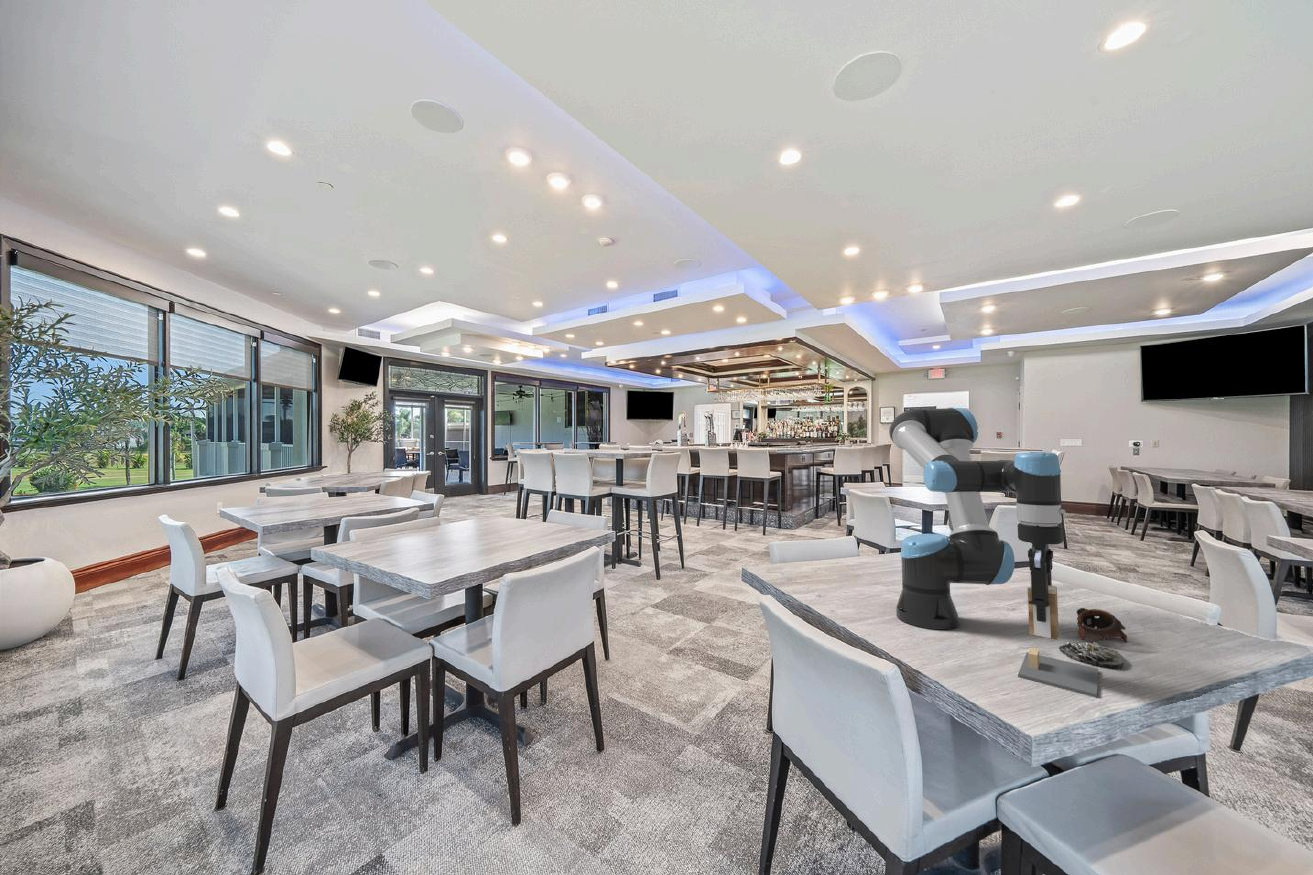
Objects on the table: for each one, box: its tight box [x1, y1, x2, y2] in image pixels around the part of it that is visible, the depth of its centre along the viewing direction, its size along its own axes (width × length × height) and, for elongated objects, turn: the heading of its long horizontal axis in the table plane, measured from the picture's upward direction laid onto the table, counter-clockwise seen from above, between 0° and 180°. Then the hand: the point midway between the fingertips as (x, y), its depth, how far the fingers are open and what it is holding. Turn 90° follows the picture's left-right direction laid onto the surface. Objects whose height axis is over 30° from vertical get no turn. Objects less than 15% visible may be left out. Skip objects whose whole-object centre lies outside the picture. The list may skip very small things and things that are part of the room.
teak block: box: [1027, 582, 1060, 640], centre depth 100 cm, size 4×4×10 cm
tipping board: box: [1017, 647, 1099, 698], centre depth 98 cm, size 12×14×4 cm
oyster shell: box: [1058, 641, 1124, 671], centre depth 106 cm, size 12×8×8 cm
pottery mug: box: [1076, 607, 1128, 643], centre depth 116 cm, size 12×10×8 cm
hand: (1043, 632), depth 100 cm, fingers closed on teak block, 4 cm apart
